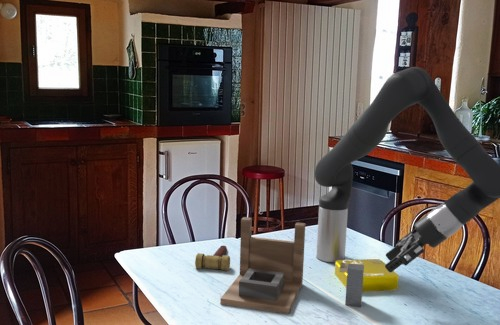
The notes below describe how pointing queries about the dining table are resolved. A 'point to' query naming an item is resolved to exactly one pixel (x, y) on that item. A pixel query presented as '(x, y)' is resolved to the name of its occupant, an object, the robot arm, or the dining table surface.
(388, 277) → the element tile
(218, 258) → the gavel
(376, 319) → the dining table surface
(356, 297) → the tan-topped grey pillar
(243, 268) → the wooden peg insertion stand
